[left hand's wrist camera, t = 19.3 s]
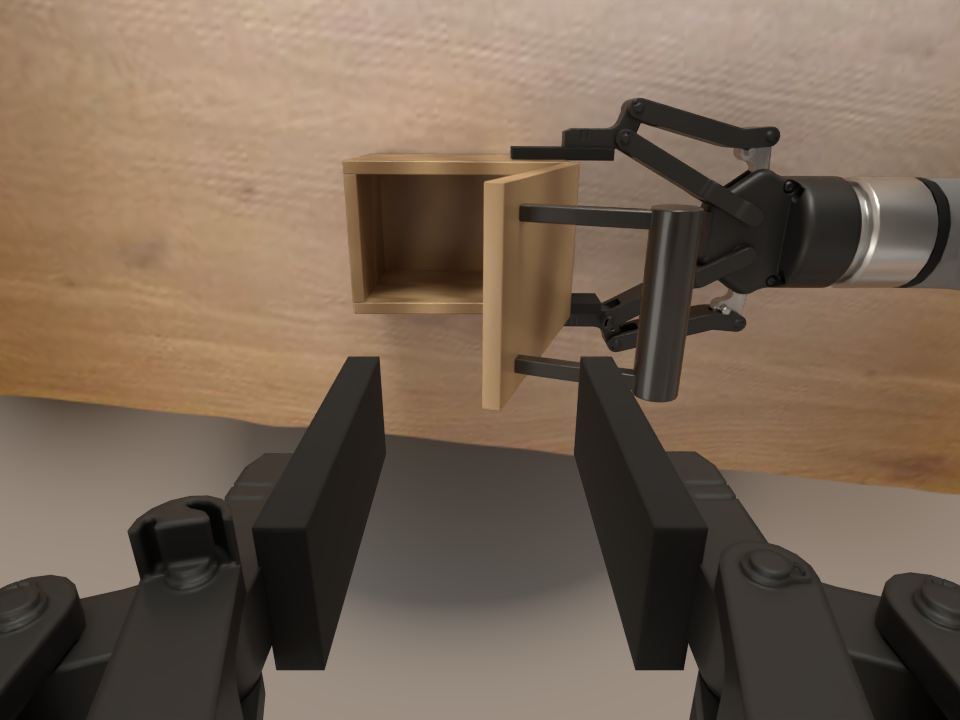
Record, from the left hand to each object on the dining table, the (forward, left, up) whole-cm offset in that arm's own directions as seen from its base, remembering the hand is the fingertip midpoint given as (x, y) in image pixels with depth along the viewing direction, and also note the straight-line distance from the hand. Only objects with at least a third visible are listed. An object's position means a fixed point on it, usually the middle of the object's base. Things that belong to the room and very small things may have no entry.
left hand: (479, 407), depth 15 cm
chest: (-2, -1, -34) cm, 34 cm away
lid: (+2, +1, -17) cm, 17 cm away
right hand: (+2, 0, -28) cm, 28 cm away
